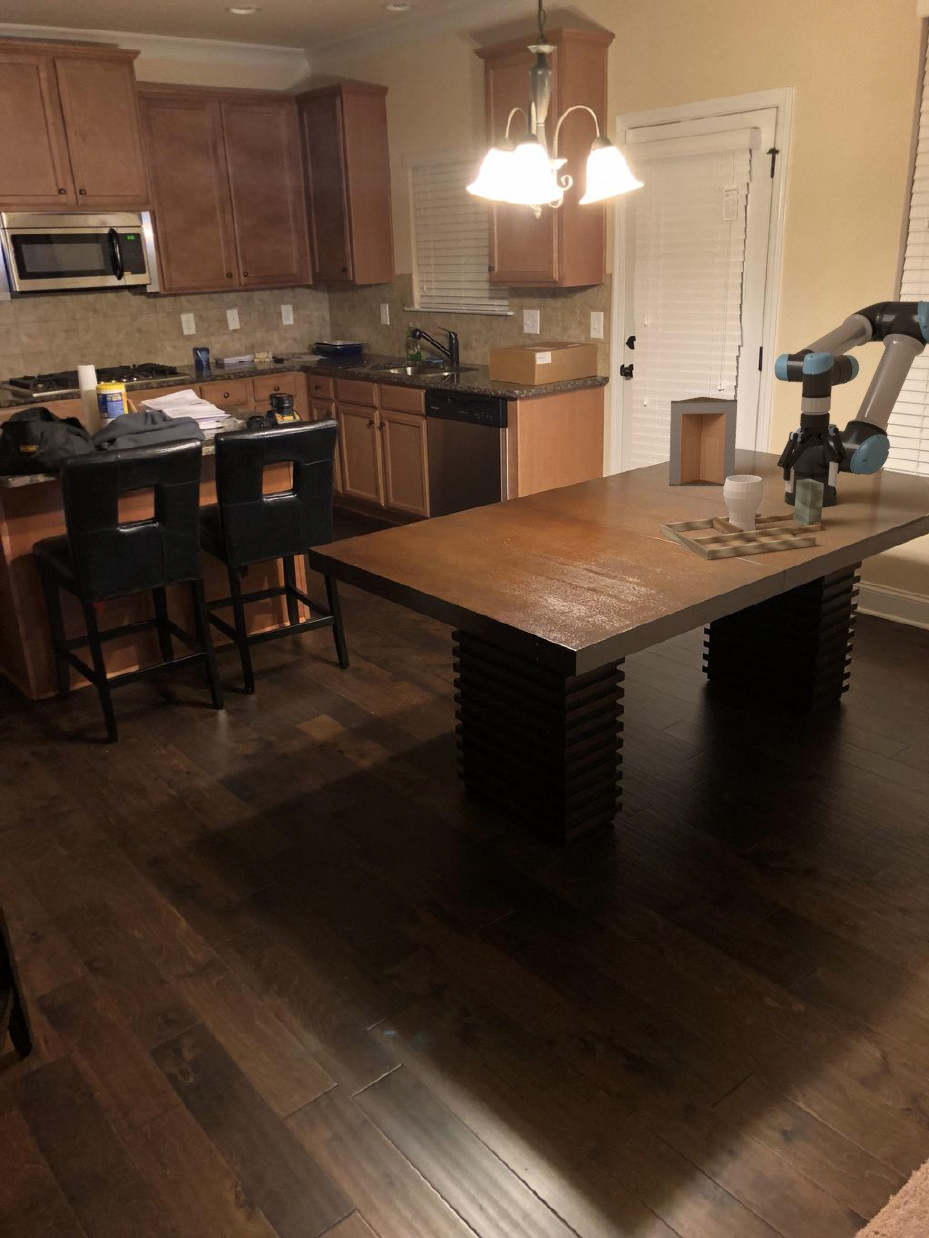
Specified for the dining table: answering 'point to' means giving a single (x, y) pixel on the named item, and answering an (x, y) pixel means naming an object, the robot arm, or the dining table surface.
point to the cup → (743, 500)
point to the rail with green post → (805, 513)
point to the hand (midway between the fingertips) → (810, 488)
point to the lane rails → (734, 539)
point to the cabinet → (702, 441)
